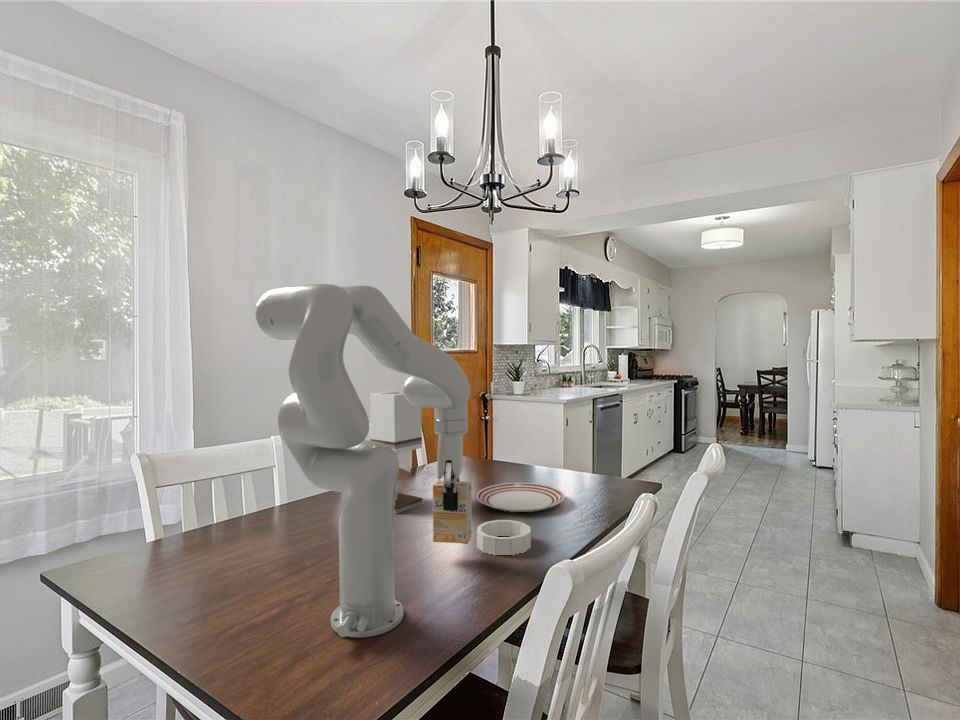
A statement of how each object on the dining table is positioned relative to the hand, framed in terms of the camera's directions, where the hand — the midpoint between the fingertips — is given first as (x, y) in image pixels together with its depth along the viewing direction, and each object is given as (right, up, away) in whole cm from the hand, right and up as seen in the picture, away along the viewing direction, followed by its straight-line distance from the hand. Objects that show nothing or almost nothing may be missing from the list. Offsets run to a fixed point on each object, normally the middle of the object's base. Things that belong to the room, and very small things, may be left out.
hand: (452, 505), depth 114 cm
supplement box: (0, -8, 0) cm, 8 cm away
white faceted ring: (+12, -12, +9) cm, 19 cm away
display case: (-19, -12, +41) cm, 47 cm away
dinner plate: (+19, -12, +43) cm, 48 cm away
